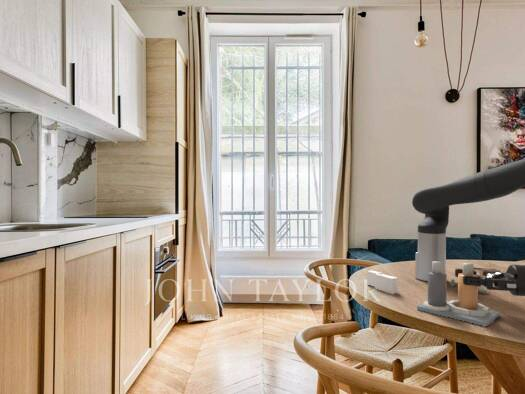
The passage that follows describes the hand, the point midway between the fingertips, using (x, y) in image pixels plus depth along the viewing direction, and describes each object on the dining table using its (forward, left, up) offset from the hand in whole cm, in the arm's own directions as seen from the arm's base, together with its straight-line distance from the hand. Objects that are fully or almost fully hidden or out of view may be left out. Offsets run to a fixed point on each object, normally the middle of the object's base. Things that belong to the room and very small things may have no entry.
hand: (459, 276), depth 87 cm
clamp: (-6, +28, -10) cm, 30 cm away
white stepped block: (-25, +7, -10) cm, 28 cm away
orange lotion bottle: (+2, +1, -9) cm, 9 cm away
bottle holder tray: (0, 0, -10) cm, 10 cm away
